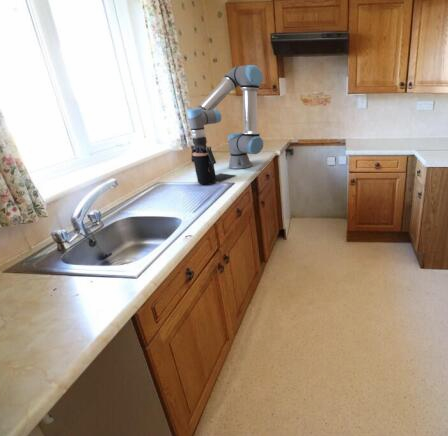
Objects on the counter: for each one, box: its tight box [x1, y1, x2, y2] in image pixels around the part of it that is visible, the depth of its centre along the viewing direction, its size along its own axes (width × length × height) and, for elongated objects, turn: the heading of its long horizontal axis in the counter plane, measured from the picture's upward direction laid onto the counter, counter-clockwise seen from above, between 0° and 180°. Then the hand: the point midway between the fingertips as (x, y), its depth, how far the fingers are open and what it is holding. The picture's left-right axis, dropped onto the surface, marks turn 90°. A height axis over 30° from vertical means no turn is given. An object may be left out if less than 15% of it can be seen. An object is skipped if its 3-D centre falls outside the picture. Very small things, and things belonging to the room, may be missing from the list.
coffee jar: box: [193, 152, 217, 186], centre depth 191 cm, size 11×11×18 cm
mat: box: [215, 173, 236, 182], centre depth 205 cm, size 13×13×1 cm
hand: (205, 174), depth 192 cm, fingers closed on coffee jar, 11 cm apart
